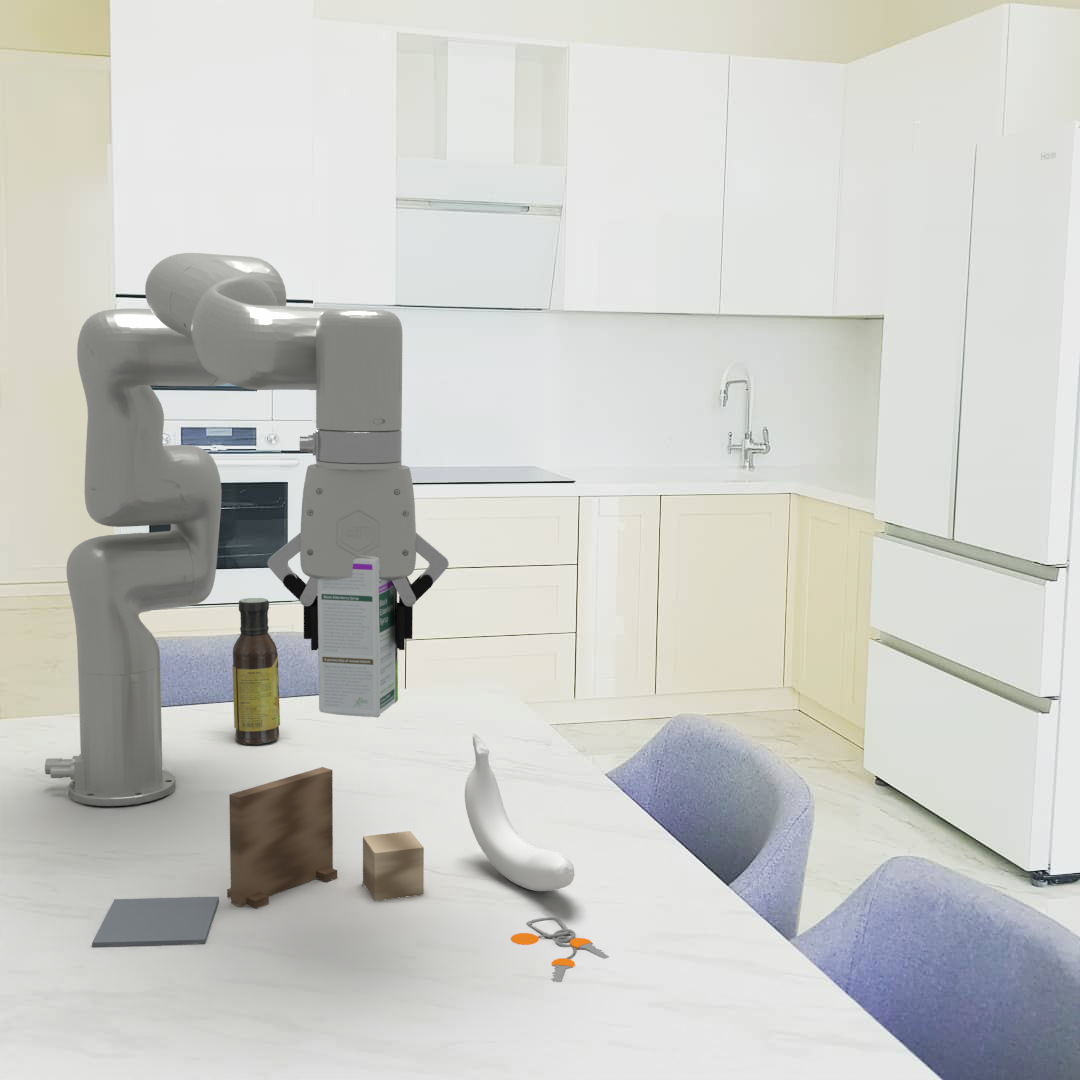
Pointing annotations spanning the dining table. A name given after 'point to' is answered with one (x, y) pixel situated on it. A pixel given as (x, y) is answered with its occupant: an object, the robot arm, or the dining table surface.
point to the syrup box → (357, 642)
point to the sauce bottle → (255, 676)
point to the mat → (157, 921)
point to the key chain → (575, 943)
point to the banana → (508, 833)
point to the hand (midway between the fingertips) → (358, 645)
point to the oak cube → (393, 865)
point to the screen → (281, 836)
